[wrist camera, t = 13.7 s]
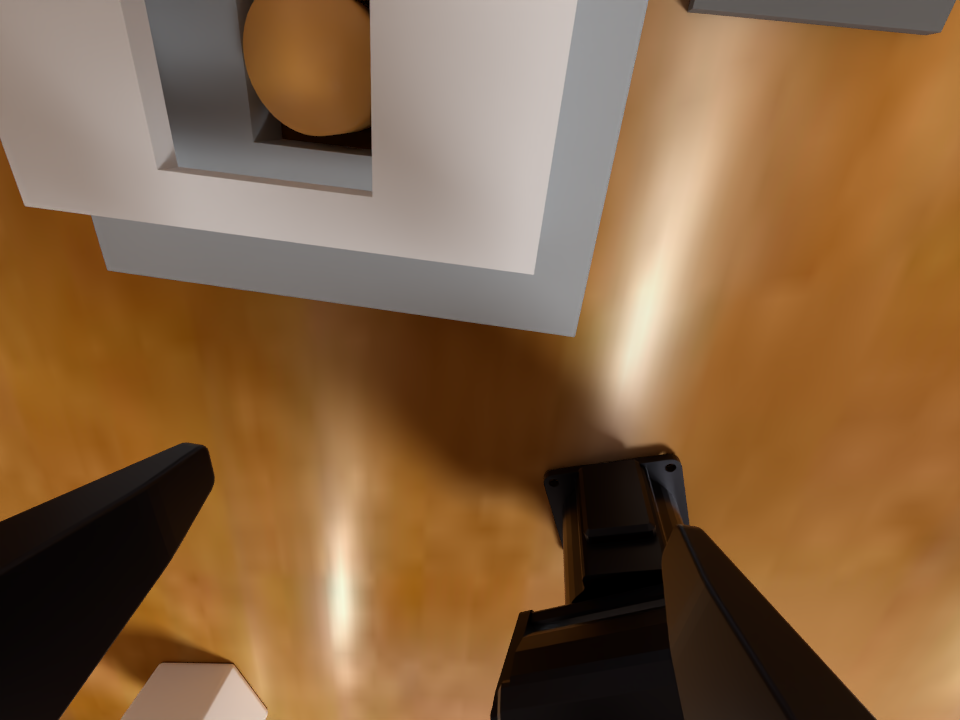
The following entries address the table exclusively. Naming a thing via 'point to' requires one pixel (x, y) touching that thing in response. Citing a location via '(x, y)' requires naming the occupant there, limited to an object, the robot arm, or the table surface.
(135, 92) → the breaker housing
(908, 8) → the pad
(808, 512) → the table surface
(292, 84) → the button
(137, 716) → the medicine bottle
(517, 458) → the table surface
